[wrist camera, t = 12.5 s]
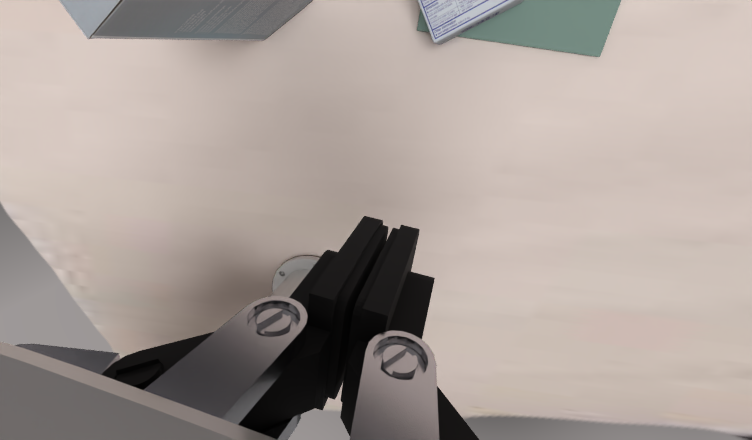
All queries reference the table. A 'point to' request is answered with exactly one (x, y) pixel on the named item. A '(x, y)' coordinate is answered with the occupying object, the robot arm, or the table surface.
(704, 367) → the table surface
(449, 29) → the medicine box
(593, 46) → the felt pad
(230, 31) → the hard drive box
